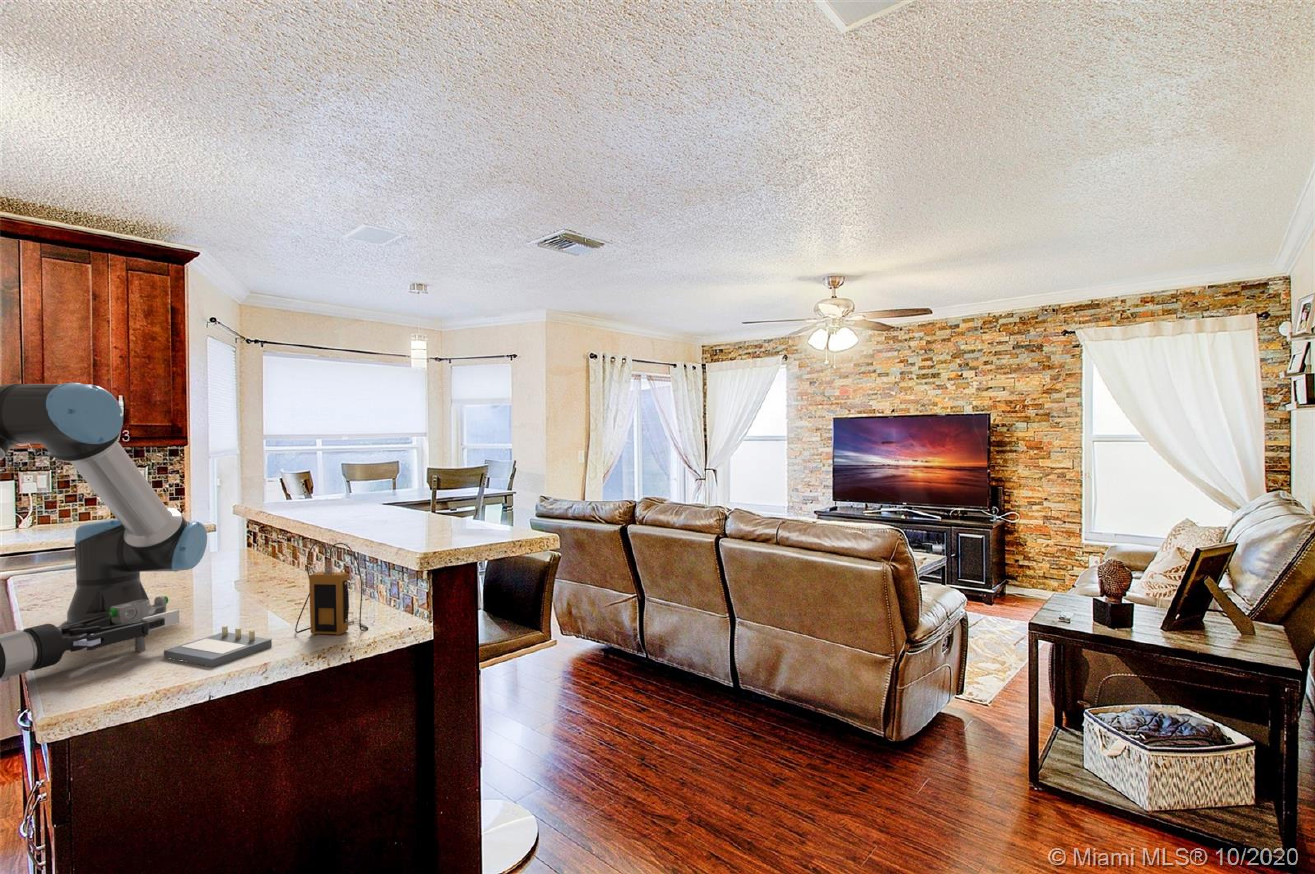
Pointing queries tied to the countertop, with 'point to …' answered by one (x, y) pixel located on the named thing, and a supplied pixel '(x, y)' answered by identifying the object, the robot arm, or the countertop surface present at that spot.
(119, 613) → the mechanical component
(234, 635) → the board
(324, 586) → the multimeter
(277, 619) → the countertop surface
